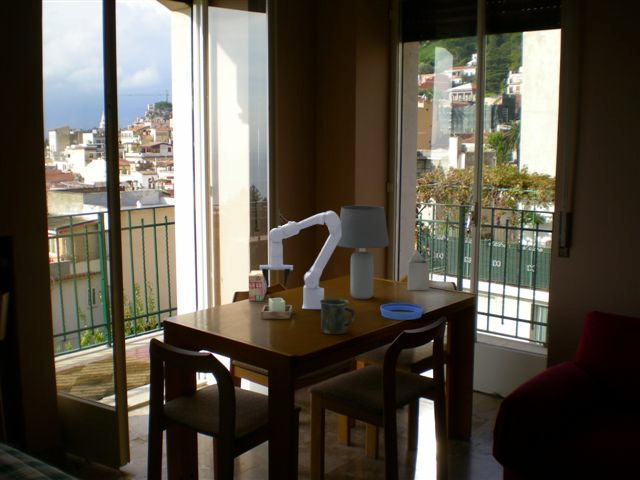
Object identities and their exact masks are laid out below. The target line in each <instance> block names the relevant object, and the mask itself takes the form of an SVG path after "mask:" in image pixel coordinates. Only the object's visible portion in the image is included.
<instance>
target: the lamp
mask: <svg viewBox="0 0 640 480" xmlns="http://www.w3.org/2000/svg"><path fill="white" fill-rule="evenodd" d="M340 208H341V209H340V215H339V219H340V221H341V233H342V236H341V238H340V240H339V242H338V243H337V245H336V247H341V248H346V249H347V248H349V249H359V251H355V252H354V253H352V254H351V257H350V291H349V292H350V296H351V297H352V298H353V299H356V300H369V299H371V298H372V297H373V295H374V276H375V275H374V270H375V269H374V268H375V267H374V265H375V264H374V261H375V260H374V255H373V254H372V253H371V252H368V251H366V249H378V248H379V249H381V248H385V247H389V246H390V240H389V234H388V226H387V221H386V220H387V218H386V212H385V207H383V206H379V205H347V206H341V207H340Z"/></svg>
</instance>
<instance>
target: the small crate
mask: <svg viewBox="0 0 640 480" xmlns="http://www.w3.org/2000/svg"><path fill="white" fill-rule="evenodd" d="M268 305H269V311H272V312H285V305H286V301H285V300H284V299H283V297H274V298H271V297H270V298H268Z"/></svg>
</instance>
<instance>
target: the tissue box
mask: <svg viewBox="0 0 640 480" xmlns="http://www.w3.org/2000/svg"><path fill="white" fill-rule="evenodd" d="M430 264H431V263H430V262H429V261H427V260H426V259H425V257H423V256H422V255H421V253H420V252H419V251H418V250H417V249H416V250H415V251H414V252H413V254H412V256H411V258H410V259H409V261H408V264H407V291H427V290H428V291H429V290H430V275H431V273H430V271H431V269H430V267H431V265H430Z"/></svg>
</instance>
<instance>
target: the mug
mask: <svg viewBox="0 0 640 480" xmlns="http://www.w3.org/2000/svg"><path fill="white" fill-rule="evenodd" d="M320 303H321V309H320V330H321V332H322V333H324V334H329V335H341V334H343V335H344V334H346V333H347V332H348V327H349V326H351V325H353V323H354V322H355V318H356V313H355V310H354V309H353V308H351V307H348V305H349V303H350V302H349V300H347V299H344V298H338V297H337V298H336V297H329V298H327V297H326V298H324V299H322V300H321V301H320ZM349 312H350V313H351V317H350V322H348V318H349V317H348V315H349V314H348V313H349Z"/></svg>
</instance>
